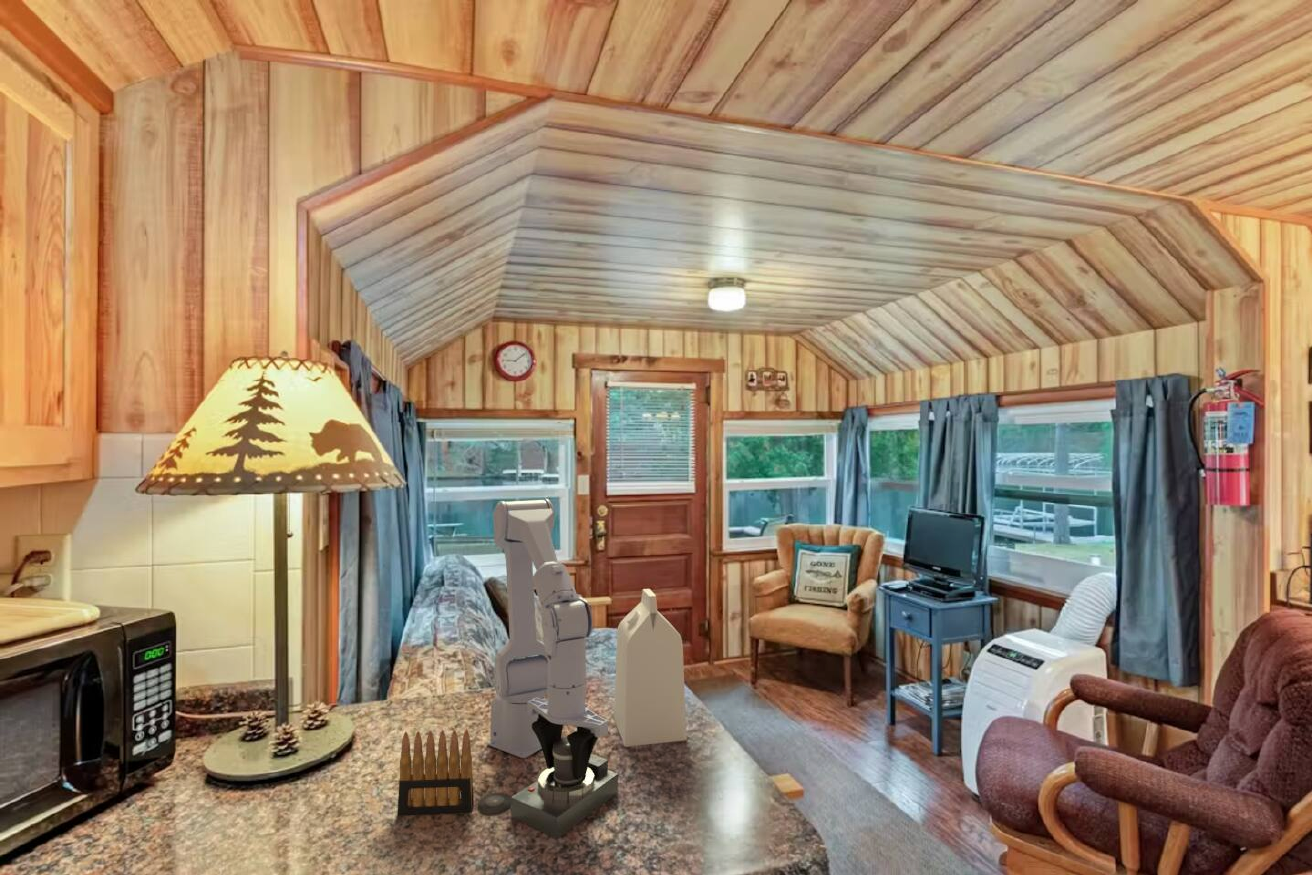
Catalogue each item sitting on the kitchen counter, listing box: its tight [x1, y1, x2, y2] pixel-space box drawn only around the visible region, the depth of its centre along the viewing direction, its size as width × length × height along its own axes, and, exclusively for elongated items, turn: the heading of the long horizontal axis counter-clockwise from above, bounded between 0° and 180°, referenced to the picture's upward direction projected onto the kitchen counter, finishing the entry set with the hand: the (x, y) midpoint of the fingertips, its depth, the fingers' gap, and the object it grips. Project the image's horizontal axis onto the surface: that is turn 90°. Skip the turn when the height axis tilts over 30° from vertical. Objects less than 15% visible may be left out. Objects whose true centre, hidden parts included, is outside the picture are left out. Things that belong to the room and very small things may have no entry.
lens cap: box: [477, 792, 512, 815], centre depth 99 cm, size 5×5×1 cm
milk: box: [613, 588, 688, 748], centre depth 124 cm, size 12×12×26 cm
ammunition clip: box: [397, 729, 475, 817], centre depth 97 cm, size 11×2×12 cm, turn 95°
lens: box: [553, 736, 584, 788], centre depth 99 cm, size 5×5×6 cm
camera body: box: [510, 753, 619, 840], centre depth 99 cm, size 9×14×5 cm, turn 146°
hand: (566, 771), depth 99 cm, fingers open, 5 cm apart
